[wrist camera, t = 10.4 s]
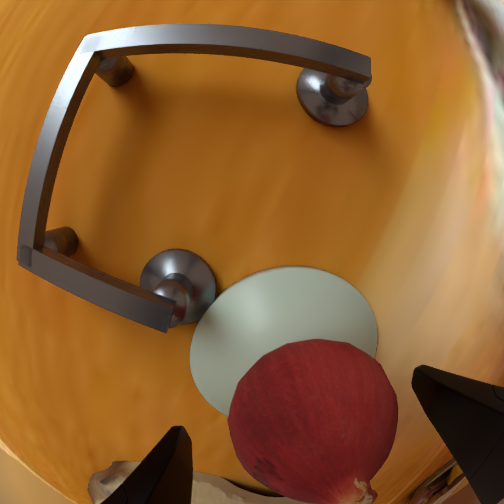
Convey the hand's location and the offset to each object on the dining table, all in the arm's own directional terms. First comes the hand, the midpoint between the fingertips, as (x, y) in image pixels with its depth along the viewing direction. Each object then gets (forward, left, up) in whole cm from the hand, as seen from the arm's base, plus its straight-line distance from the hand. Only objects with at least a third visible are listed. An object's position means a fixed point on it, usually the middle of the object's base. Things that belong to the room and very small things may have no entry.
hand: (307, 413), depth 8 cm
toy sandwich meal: (-20, +32, -4) cm, 38 cm away
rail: (+2, -9, -4) cm, 10 cm away
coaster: (0, 0, -4) cm, 4 cm away
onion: (0, 0, -4) cm, 4 cm away
